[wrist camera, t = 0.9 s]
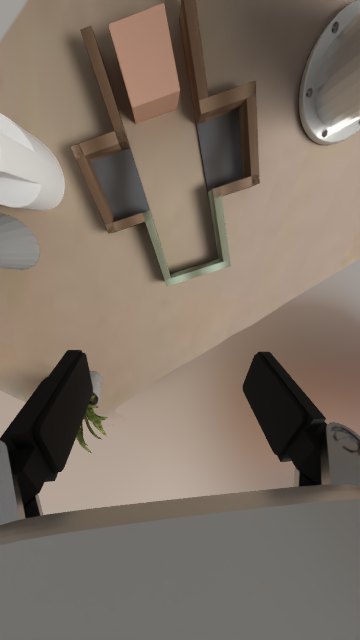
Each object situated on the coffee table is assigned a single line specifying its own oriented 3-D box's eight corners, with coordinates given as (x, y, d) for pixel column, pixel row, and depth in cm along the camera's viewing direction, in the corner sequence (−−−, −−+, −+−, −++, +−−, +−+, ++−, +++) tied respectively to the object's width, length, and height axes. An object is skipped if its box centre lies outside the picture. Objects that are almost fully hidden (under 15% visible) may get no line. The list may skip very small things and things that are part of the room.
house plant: (69, 401, 49) (33, 474, 34) (48, 364, 42) (-9, 436, 28) (121, 394, 49) (106, 462, 35) (108, 356, 43) (83, 423, 28)
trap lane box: (238, -3, 20) (250, -37, 17) (254, 253, 34) (262, 256, 32) (43, 71, 21) (27, 50, 18) (138, 290, 35) (136, 295, 33)
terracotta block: (163, 39, 21) (163, 2, 18) (177, 109, 24) (180, 90, 21) (116, 56, 21) (108, 24, 18) (135, 124, 24) (132, 107, 21)
